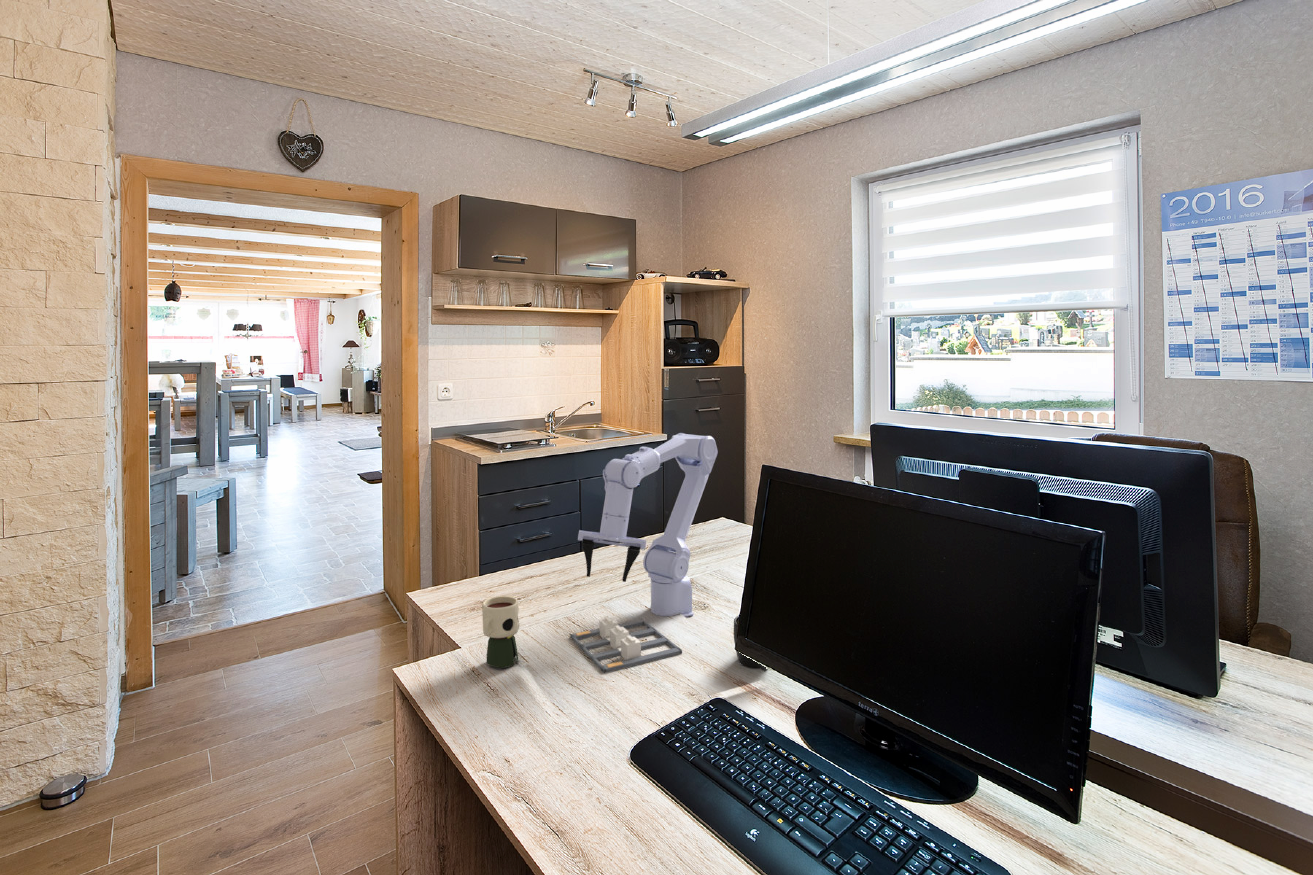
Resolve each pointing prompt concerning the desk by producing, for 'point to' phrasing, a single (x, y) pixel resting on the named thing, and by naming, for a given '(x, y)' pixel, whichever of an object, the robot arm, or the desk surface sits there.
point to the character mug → (501, 630)
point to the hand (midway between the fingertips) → (606, 578)
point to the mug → (743, 659)
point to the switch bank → (617, 652)
